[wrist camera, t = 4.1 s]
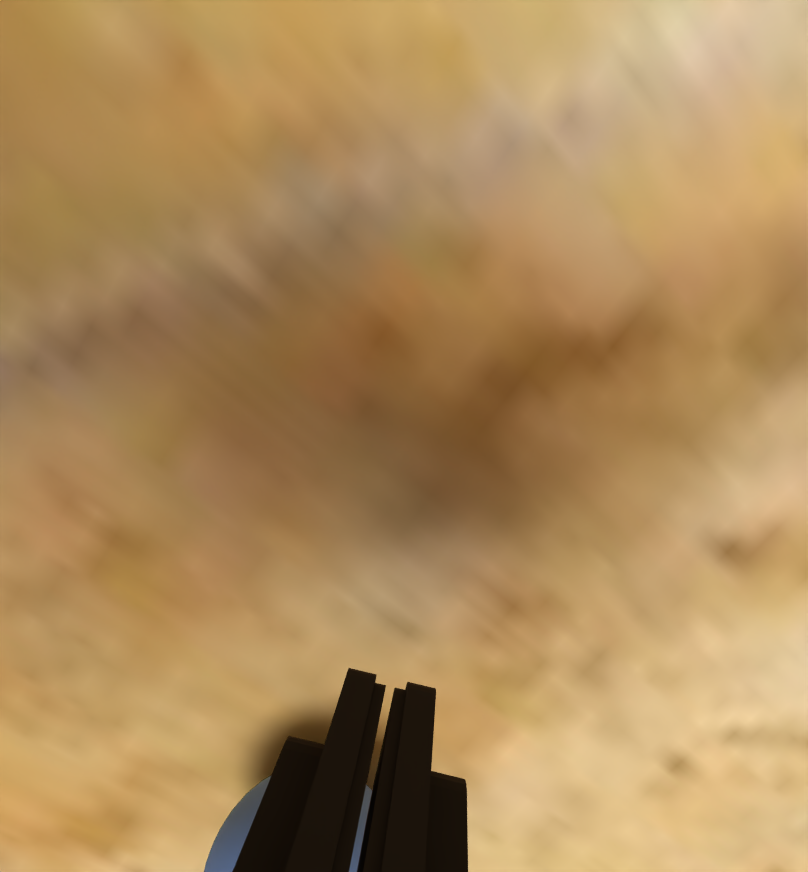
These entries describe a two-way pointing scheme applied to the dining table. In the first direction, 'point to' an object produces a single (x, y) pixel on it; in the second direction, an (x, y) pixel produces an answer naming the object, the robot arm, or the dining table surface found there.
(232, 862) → the ball
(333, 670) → the dining table surface
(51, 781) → the dining table surface
